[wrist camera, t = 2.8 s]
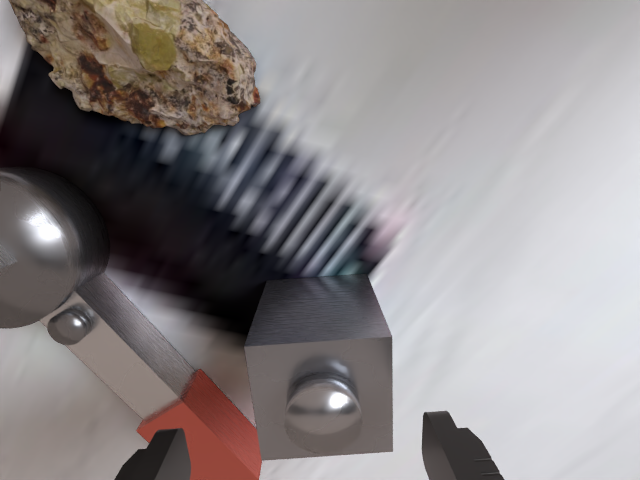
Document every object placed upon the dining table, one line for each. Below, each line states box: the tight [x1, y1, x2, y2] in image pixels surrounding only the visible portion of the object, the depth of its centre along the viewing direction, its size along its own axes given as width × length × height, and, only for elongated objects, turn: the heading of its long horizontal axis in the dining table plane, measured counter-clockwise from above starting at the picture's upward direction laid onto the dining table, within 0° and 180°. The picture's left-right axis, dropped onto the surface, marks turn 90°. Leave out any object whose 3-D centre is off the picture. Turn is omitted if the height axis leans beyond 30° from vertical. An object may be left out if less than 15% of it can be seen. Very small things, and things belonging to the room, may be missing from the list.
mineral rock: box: [9, 0, 260, 135], centre depth 14 cm, size 11×4×8 cm
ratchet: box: [0, 167, 262, 480], centre depth 15 cm, size 7×21×6 cm, turn 34°
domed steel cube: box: [244, 274, 393, 460], centre depth 15 cm, size 5×5×7 cm
